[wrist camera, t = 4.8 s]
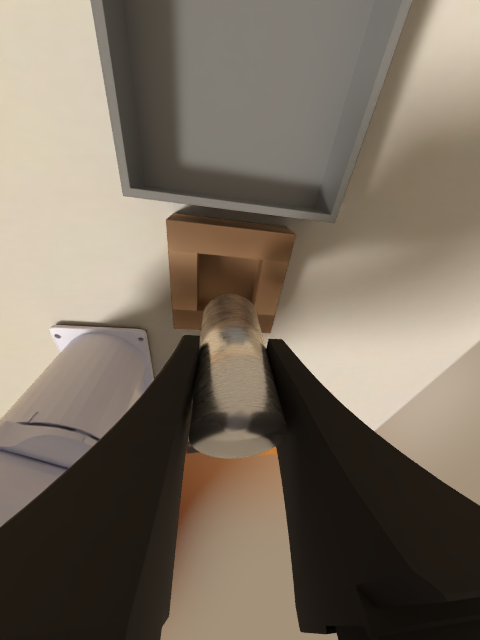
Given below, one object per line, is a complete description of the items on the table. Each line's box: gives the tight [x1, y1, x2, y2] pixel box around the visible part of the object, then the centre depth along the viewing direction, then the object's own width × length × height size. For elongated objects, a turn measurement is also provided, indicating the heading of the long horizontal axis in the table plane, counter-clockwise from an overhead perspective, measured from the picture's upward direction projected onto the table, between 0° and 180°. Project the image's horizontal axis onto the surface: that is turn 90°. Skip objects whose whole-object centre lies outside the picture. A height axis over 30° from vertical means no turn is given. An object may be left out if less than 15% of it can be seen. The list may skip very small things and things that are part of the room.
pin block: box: [166, 213, 296, 333], centre depth 16 cm, size 8×8×2 cm
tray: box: [91, 0, 412, 223], centre depth 10 cm, size 12×12×3 cm
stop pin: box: [189, 294, 287, 458], centre depth 9 cm, size 3×3×6 cm
